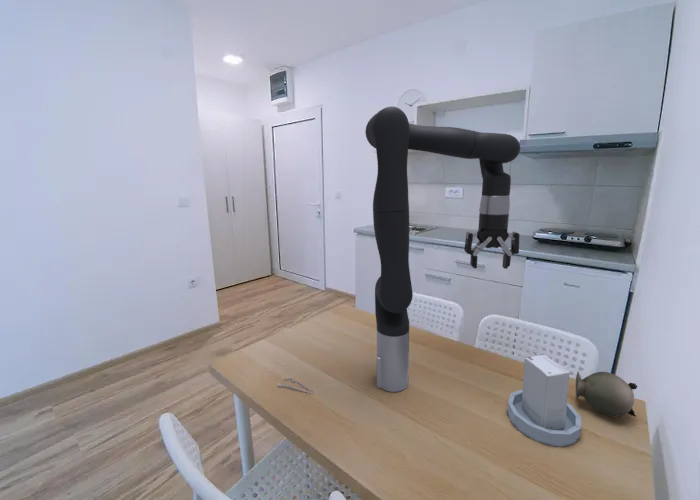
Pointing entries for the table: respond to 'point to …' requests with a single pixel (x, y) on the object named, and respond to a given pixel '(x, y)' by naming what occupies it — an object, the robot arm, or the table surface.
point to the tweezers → (293, 387)
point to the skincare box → (545, 392)
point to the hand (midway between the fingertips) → (489, 267)
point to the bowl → (539, 433)
